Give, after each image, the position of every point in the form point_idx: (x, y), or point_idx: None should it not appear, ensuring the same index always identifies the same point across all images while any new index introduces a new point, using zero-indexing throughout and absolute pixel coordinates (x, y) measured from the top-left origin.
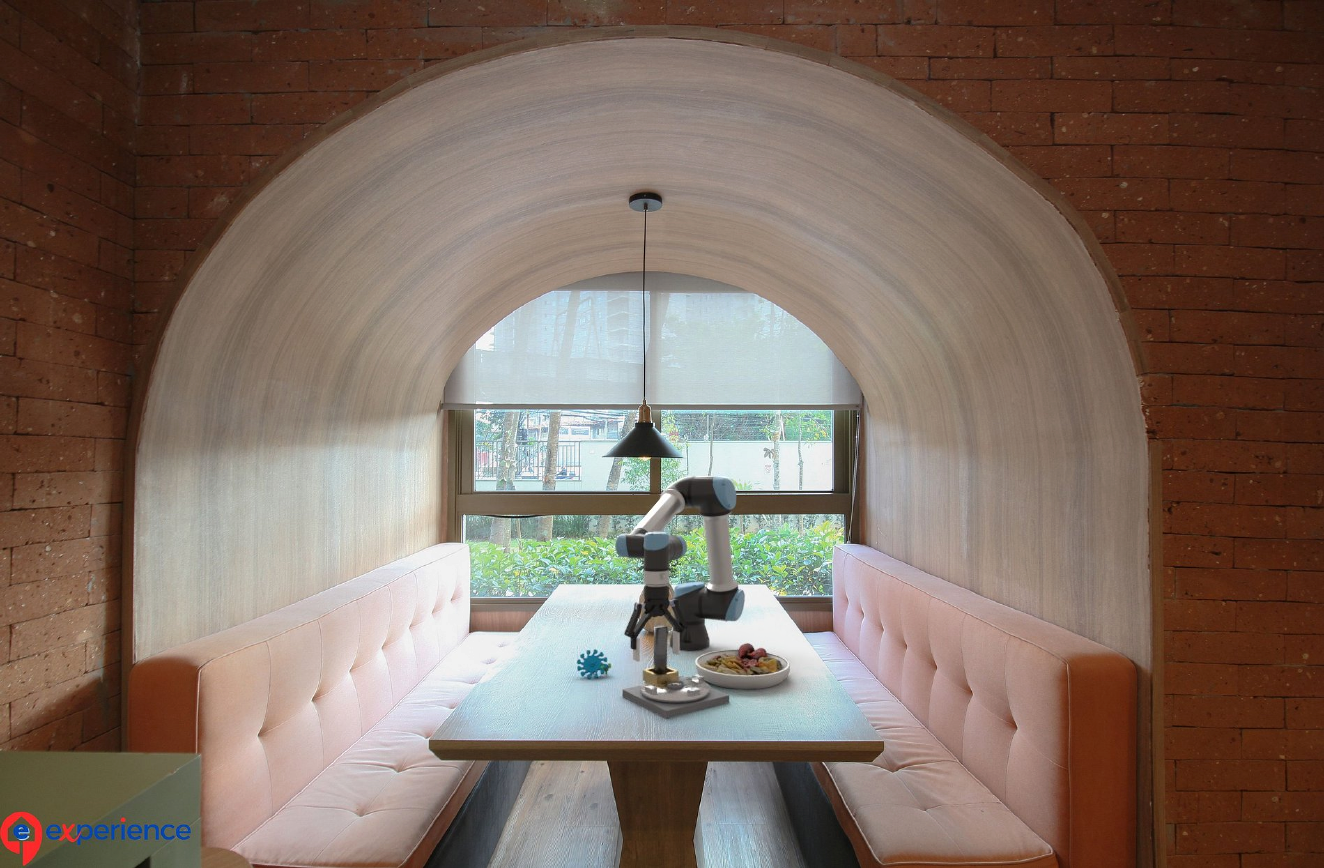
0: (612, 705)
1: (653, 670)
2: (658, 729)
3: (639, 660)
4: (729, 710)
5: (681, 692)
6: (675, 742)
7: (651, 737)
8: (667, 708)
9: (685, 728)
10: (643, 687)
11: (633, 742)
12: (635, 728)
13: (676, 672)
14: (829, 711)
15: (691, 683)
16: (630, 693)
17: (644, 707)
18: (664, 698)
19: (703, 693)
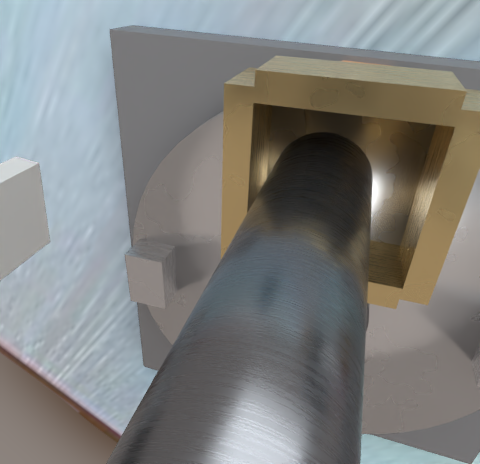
0: (41, 107)
1: (264, 184)
2: (96, 365)
3: (43, 245)
4: (381, 454)
5: None
6: (96, 423)
7: (59, 375)
8: (160, 357)
9: None
10: (168, 183)
11: (11, 360)
12: (43, 318)
13: (390, 306)
14: None
15: (438, 334)
16: (120, 126)
17: None
18: (171, 341)
19: None
